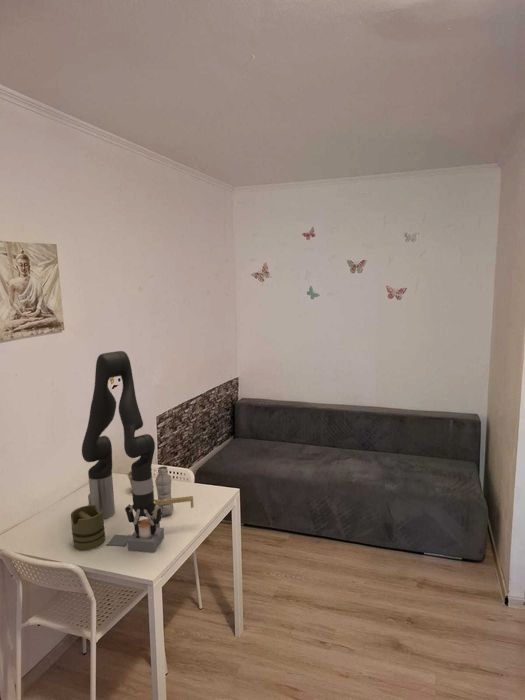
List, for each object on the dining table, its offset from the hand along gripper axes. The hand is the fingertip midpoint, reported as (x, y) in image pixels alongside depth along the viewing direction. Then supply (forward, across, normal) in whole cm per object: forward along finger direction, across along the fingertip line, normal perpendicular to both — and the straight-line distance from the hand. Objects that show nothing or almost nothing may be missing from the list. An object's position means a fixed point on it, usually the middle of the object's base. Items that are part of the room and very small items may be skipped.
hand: (145, 532), depth 178 cm
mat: (+4, -11, +1) cm, 12 cm away
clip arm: (-4, +6, +11) cm, 14 cm away
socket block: (+4, 0, +3) cm, 5 cm away
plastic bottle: (+5, -1, +23) cm, 23 cm away
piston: (+5, -22, -1) cm, 23 cm away
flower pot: (+5, -21, +43) cm, 48 cm away
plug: (+5, 0, 0) cm, 5 cm away
